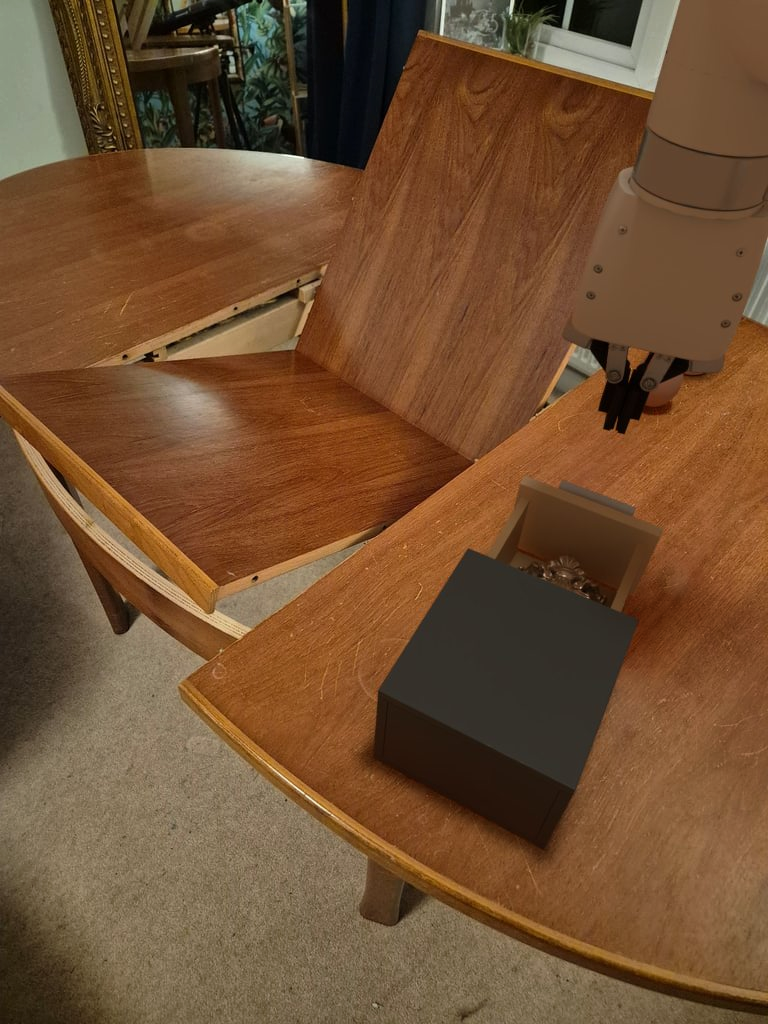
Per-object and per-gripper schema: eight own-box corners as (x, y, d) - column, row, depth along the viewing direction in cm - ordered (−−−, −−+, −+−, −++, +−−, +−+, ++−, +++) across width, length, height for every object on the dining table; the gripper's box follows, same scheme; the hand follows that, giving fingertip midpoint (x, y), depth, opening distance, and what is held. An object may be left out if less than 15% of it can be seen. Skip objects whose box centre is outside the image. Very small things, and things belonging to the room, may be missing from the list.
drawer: (525, 508, 74) (540, 448, 68) (648, 556, 70) (675, 497, 64) (450, 636, 62) (461, 577, 57) (592, 702, 59) (618, 645, 53)
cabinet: (454, 620, 65) (467, 547, 58) (605, 689, 61) (639, 619, 54) (372, 757, 56) (377, 690, 49) (543, 850, 51) (575, 790, 45)
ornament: (609, 587, 66) (621, 560, 63) (593, 646, 61) (604, 620, 58) (522, 557, 68) (530, 530, 65) (500, 612, 63) (507, 585, 60)
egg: (678, 401, 89) (699, 349, 84) (661, 423, 86) (682, 370, 80) (636, 384, 91) (655, 332, 86) (619, 405, 88) (636, 352, 83)
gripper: (838, 166, 43) (720, 416, 56) (581, 124, 46) (527, 371, 59) (850, 218, 38) (718, 479, 51) (561, 167, 41) (506, 426, 54)
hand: (615, 420), depth 55 cm, fingers closed
